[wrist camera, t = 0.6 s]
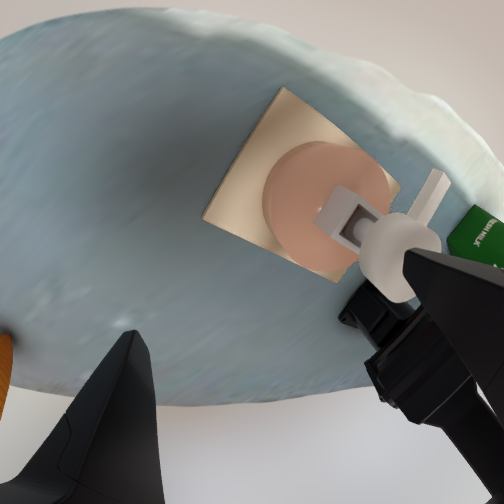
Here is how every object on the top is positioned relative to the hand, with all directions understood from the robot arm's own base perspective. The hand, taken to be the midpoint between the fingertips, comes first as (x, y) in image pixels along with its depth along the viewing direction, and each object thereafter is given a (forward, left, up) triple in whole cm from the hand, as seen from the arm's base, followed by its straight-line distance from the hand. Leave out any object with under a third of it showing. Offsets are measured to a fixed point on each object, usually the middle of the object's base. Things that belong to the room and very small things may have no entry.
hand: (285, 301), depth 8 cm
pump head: (-7, -5, -6) cm, 11 cm away
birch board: (-7, -3, -13) cm, 15 cm away
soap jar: (-7, -3, -13) cm, 15 cm away
